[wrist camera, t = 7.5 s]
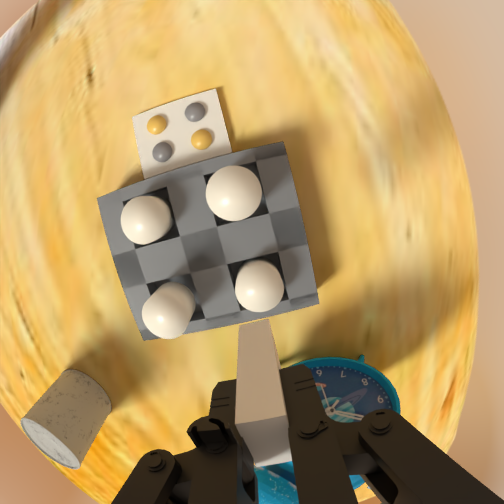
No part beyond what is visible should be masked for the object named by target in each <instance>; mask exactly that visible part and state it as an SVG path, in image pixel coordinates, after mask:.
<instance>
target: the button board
mask: <svg viewBox="0 0 504 504" xmlns="http://www.w3.org/2000/svg"><path fill="white" fill-rule="evenodd" d="M233 165H235V166H242V167H245V168H247V169H249V170H250V171H251V172H253V173H254V174H255V176H256V177H257V178H258V180H259V182H260V185H261V189H262V197H261V201H260V204H259V206H258V208H257V209H256V211H255V212H254V213H253V214H252V215H250V216H249V217H247V218H245V219H243V220H239V221H228V220H225V219H222V218H220V217H218V216H217V215H216V214H214V213H213V211H212V210H211V209H210V207H209V205H208V203H207V200H206V187H207V184H208V181H209V179H210V178H211V177H212V175H213V174H214V173H215V172H216V171H218V170H219V169H221V168H223V167H226V166H233ZM139 196H160V197H163V198H165V199H166V200H168V201H169V202H170V203H171V205H172V209H173V213H174V217H175V223H174V226H173V228H172V229H171V231H170V232H169V233H168V234H167V235H165V236H163V237H161V238H159V239H157V240H155V241H153V242H151V243H148V244H137V243H134V242H132V241H131V240H129V239H128V238H127V236H126V235H125V234H124V232H123V230H122V226H121V214H122V211H123V208H124V207H125V205H126V204H127V203H128V202H129V201H130V200H131V199H133V198H135V197H139ZM97 201H98V205H99V209H100V213H101V218H102V221H103V225H104V229H105V233H106V236H107V240H108V244H109V247H110V250H111V254H112V257H113V260H114V263H115V266H116V270H117V273H118V276H119V279H120V281H121V284H122V287H123V290H124V293H125V295H126V298H127V301H128V304H129V306H130V309H131V311H132V314H133V316H134V319H135V321H136V324H137V326H138V329H139V331H140V333H141V336H142V338H143V340H144V341H145V340H152V339H158V338H160V337H158V336H156V335H154V334H153V333H152V332H150V331H149V329H148V328H147V327H146V325H145V324H144V321H143V318H142V308H143V305H144V304H145V302H146V301H147V300H148V299H149V298H150V297H151V295H152V294H153V293H154V292H155V291H156V290H157V289H158V288H159V287H160V286H161V285H163V284H165V283H167V282H178V283H181V284H183V285H185V286H186V287H187V288H189V289H190V291H191V292H192V293H193V295H194V298H195V302H196V307H195V311H194V313H193V315H192V317H191V319H190V321H189V324H188V326H187V328H186V330H185V332H184V333H183V334H188V333H193V332H199V331H204V330H209V329H214V328H219V327H224V326H229V325H234V324H238V323H243V322H248V321H252V320H257V319H261V318H265V317H269V316H274V315H278V314H282V313H286V312H290V311H294V310H298V309H302V308H305V307H309V306H313V305H317V304H319V299H318V293H317V288H316V282H315V277H314V272H313V266H312V261H311V256H310V251H309V247H308V242H307V237H306V232H305V228H304V223H303V219H302V214H301V210H300V206H299V201H298V197H297V193H296V189H295V185H294V181H293V177H292V173H291V169H290V165H289V161H288V157H287V153H286V150H285V146H284V142H278V143H273V144H269V145H264V146H260V147H255V148H251V149H247V150H243V151H239V152H235V153H231V154H227V155H223V156H219V157H216V158H212V159H209V160H205V161H202V162H198V163H195V164H191V165H188V166H185V167H182V168H178V169H175V170H172V171H169V172H166V173H163V174H160V175H157V176H154V177H151V178H149V179H146V180H143V181H140V182H137V183H135V184H132V185H129V186H127V187H124V188H121V189H119V190H116V191H114V192H111V193H109V194H106V195H104V196H101V197H99V198H97ZM254 257H263V258H267V259H269V260H270V261H272V262H273V263H274V264H275V265H276V267H277V269H278V271H279V274H280V276H281V279H282V281H283V285H284V293H283V297H282V299H281V301H280V302H279V303H278V304H277V305H276V306H275V307H274V308H272V309H271V310H268V311H265V312H253V311H250V310H248V309H246V308H244V307H243V306H242V305H241V304H240V303H239V301H238V299H237V297H236V294H235V285H236V279H237V273H238V270H239V268H240V266H241V265H242V264H243V263H244V262H245V261H246V260H248V259H250V258H254Z"/></svg>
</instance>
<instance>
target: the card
mask: <svg viewBox="0 0 504 504" xmlns="http://www.w3.org/2000/svg"><path fill="white" fill-rule="evenodd" d="M132 120H133V126H134V131H135V137H136V142H137V147H138V152H139V157H140V162H141V167H142V171H143V176H144V179H149V178H151V177H154V176H157V175H160V174H163V173H166V172H169V171H172V170H175V169H178V168H182V167H185V166H188V165H191V164H195V163H198V162H202V161H205V160H209V159H212V158H216V157H219V156H223V155H227V154H231V153H232V149H231V145H230V141H229V137H228V133H227V129H226V126H225V122H224V118H223V114H222V110H221V106H220V102H219V99H218V95H217V91H216V89H213V90H209V91H205V92H202V93H198V94H195V95H192V96H188V97H185V98H182V99H179V100H176V101H173V102H170V103H167V104H164V105H162V106H159V107H156V108H153V109H151V110H148V111H146V112H143V113H141V114H138V115H136V116H133V117H132Z"/></svg>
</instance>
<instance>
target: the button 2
mask: <svg viewBox="0 0 504 504" xmlns="http://www.w3.org/2000/svg"><path fill="white" fill-rule="evenodd" d="M195 307H196V302H195V298H194V295H193V293H192V292H191V291H190V289H189V288H187V287H186V286H185V285H183V284H181V283H178V282H167V283H165V284H163V285H161V286H160V287H159V288H158V289H157V290H156V291H155V292H154V293H153V294H152V295H151V297H150V298H149V299H148V300H147V301H146V302H145V304H144V305H143V308H142V318H143V321H144V324H145V325H146V327H147V328H148V329H149V331H150V332H152V333H153V334H154V335H156V336H158V337H160V338H164V339H174V338H177V337H179V336H180V335H182V334H183V333H184V332H185V330H186V328H187V326H188V324H189V321H190V319H191V317H192V315H193V313H194V311H195Z"/></svg>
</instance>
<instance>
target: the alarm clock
mask: <svg viewBox="0 0 504 504" xmlns="http://www.w3.org/2000/svg"><path fill="white" fill-rule="evenodd" d="M299 364H304V365H305V366H307V367H308V368H309V369H310V370H311V372H312V375H313V378H314V381H315V384H316V387H317V390H318V392H319V395H320V398H321V401H322V404H323V407H324V410H325V412H326V414H327V415H328V416H329V417H330V418H331V419H333V420H335V421H338V422H360V421H361V420H362V418H363V417H364V416H365V415H367V414H368V413H370V412H372V411H374V410H378V409H390V410H393V411H395V412H397V413H399V414H400V411H401V410H400V401H399V397H398V395H397V392H396V390H395V388H394V387H393V385H392V384H391V382H390V381H389V380H388V379H387V378H386V377H385V376H384V375H383V374H382V373H381V372H379V371H378V370H376V369H375V368H373V367H371V366H369V365H367V364H365V363H364V355H361V356H360V357H359V359H358V361H356V360H353V359H347V358H341V357H323V358H314V359H310V360H305V361H302V362H299V363H296V364H294V365H292V366H295V365H299ZM290 367H291V366H290ZM254 472H255V474H256V476H257V479H258V496H259V504H299V500H298V494H297V487H296V481H295V475H294V469H293V463H292V461H289V462H284V463H279V464H273V465H267V466H260V467H256V466H255V465H254ZM349 477H350V480H351V483H352V486H353V489H356V488H358V487H360V486H361V485H362V484H363V483H365V481H364V480H363V479H362V477H361V476H360V475H349ZM367 488H369V489H370V487H369V486H368V487H367ZM381 504H383V503H381Z"/></svg>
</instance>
